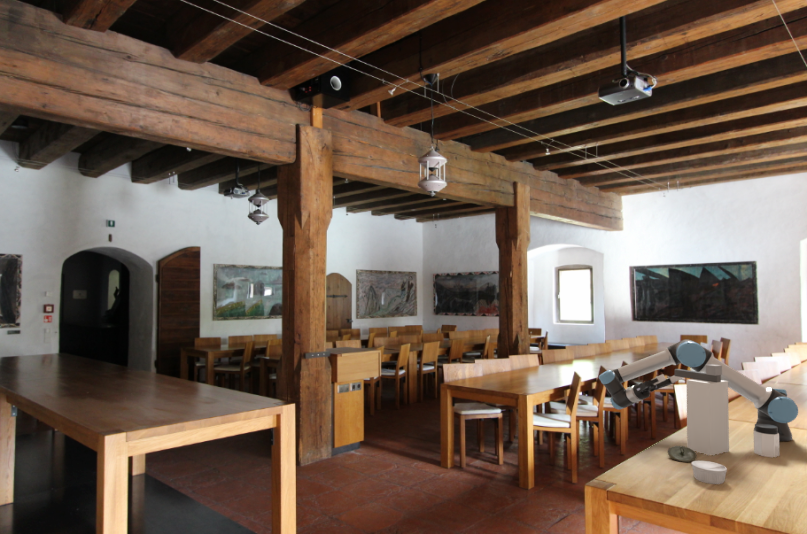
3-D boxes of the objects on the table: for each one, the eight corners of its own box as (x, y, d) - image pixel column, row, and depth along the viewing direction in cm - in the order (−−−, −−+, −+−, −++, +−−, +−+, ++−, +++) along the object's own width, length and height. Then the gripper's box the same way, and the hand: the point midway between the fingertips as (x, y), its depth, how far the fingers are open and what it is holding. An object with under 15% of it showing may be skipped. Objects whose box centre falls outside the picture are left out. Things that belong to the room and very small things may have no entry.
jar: (772, 458, 217) (772, 429, 217) (751, 453, 224) (750, 425, 224) (782, 455, 222) (781, 426, 222) (760, 450, 229) (760, 422, 229)
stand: (705, 445, 235) (705, 377, 236) (729, 451, 226) (728, 381, 228) (687, 449, 228) (686, 379, 229) (710, 456, 219) (709, 383, 221)
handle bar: (679, 375, 242) (679, 360, 242) (722, 381, 226) (721, 365, 226) (673, 376, 239) (673, 360, 240) (715, 382, 223) (715, 366, 223)
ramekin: (727, 488, 183) (726, 472, 184) (690, 481, 189) (690, 466, 190) (727, 478, 193) (727, 464, 193) (692, 472, 199) (692, 458, 199)
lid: (695, 457, 218) (695, 445, 218) (697, 464, 208) (697, 451, 209) (667, 453, 222) (666, 441, 222) (668, 460, 213) (668, 448, 213)
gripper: (657, 397, 261) (693, 381, 246) (624, 402, 249) (660, 385, 233) (650, 383, 265) (685, 366, 249) (618, 387, 252) (652, 370, 237)
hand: (673, 375), depth 241 cm, fingers open, 13 cm apart
